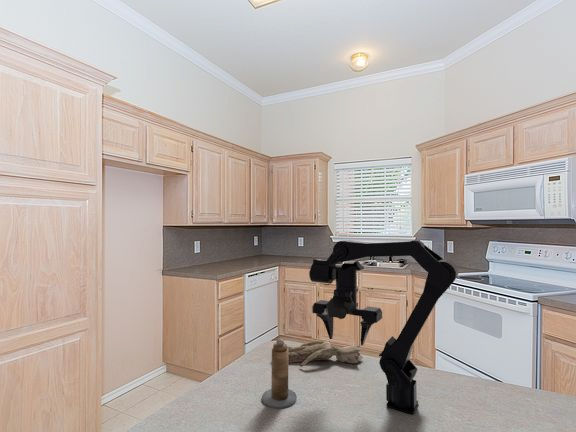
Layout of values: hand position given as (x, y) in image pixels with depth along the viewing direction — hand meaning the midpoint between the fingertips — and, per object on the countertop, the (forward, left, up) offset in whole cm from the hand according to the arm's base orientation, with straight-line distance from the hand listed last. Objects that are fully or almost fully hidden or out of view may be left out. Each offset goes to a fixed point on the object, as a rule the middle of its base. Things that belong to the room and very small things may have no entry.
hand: (346, 341), depth 91 cm
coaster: (+13, +14, -13) cm, 23 cm away
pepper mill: (+13, +14, -12) cm, 23 cm away
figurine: (+16, -15, -14) cm, 26 cm away
